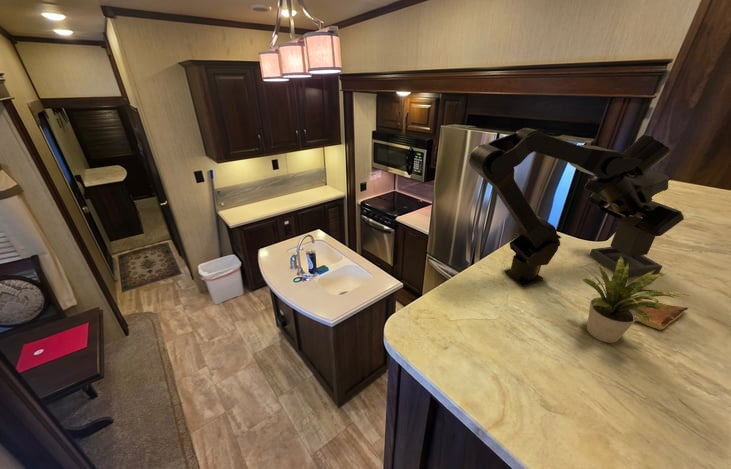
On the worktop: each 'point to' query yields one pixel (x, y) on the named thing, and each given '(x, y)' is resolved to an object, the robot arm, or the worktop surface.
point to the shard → (661, 315)
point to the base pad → (625, 261)
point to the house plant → (621, 302)
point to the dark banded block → (632, 236)
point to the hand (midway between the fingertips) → (643, 227)
